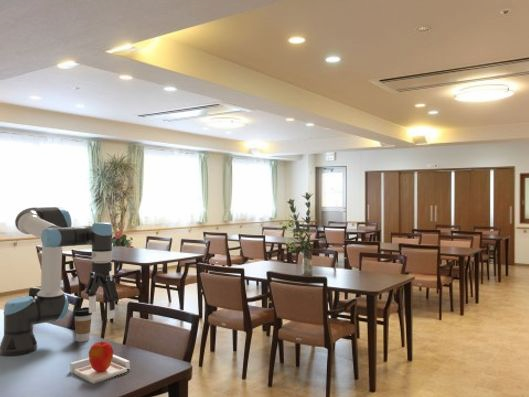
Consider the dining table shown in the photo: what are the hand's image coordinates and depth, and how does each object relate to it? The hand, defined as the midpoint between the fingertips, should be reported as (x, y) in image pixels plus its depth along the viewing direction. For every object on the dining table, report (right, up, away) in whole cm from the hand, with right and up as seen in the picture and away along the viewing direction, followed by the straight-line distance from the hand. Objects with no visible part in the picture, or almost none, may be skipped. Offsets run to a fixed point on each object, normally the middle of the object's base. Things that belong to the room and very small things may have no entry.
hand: (101, 315), depth 181 cm
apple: (0, -22, -1) cm, 22 cm away
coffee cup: (-24, -23, +42) cm, 54 cm away
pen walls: (-1, -23, +2) cm, 23 cm away
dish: (0, -23, -1) cm, 23 cm away
